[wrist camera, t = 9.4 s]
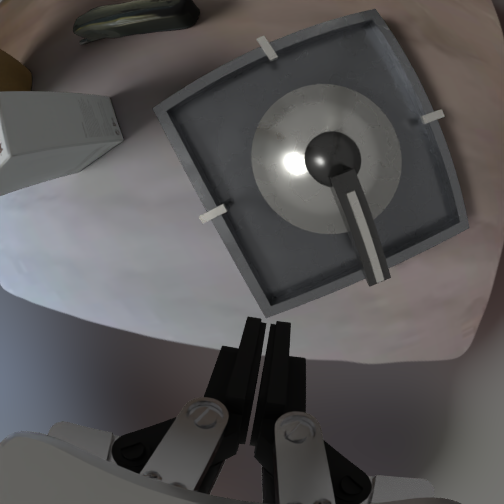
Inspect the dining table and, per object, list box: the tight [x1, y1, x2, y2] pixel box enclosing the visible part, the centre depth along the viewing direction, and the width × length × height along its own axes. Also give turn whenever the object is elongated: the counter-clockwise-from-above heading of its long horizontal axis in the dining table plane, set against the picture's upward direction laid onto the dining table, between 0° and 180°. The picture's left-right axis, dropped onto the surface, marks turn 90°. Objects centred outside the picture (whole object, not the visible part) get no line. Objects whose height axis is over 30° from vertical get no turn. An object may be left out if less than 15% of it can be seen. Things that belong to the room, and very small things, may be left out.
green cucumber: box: [73, 0, 200, 44], centre depth 18 cm, size 5×3×15 cm
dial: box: [251, 84, 402, 286], centre depth 20 cm, size 16×12×6 cm
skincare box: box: [0, 91, 123, 196], centre depth 18 cm, size 8×6×15 cm
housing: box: [153, 9, 469, 318], centre depth 22 cm, size 23×23×3 cm
